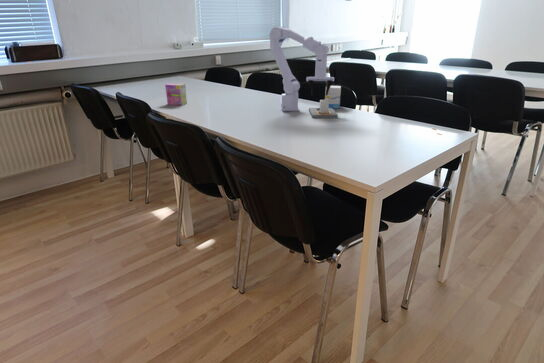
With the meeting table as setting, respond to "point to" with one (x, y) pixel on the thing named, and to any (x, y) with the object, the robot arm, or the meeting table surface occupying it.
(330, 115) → the socket board
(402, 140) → the meeting table surface
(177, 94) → the box
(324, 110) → the steel peg
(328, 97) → the ink box
